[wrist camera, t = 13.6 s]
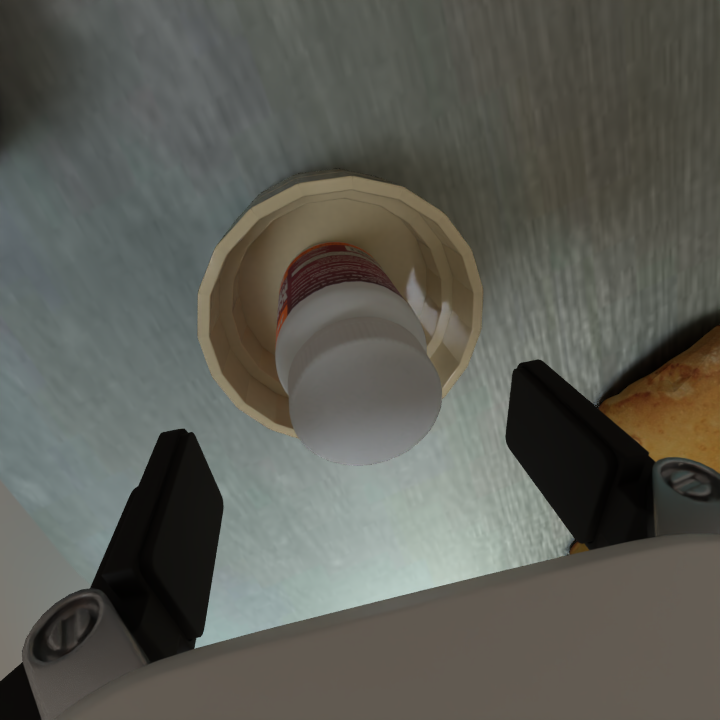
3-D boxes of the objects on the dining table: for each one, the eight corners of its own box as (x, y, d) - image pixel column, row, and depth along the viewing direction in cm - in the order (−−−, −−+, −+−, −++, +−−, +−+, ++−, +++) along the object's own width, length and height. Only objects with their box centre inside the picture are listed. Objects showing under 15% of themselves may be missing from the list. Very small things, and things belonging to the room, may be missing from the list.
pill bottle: (261, 261, 21) (234, 365, 11) (368, 222, 21) (436, 291, 11) (304, 354, 24) (313, 499, 14) (397, 320, 24) (471, 442, 14)
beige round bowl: (252, 398, 26) (243, 463, 20) (187, 187, 19) (148, 203, 14) (441, 364, 27) (477, 418, 21) (439, 153, 20) (491, 156, 15)
